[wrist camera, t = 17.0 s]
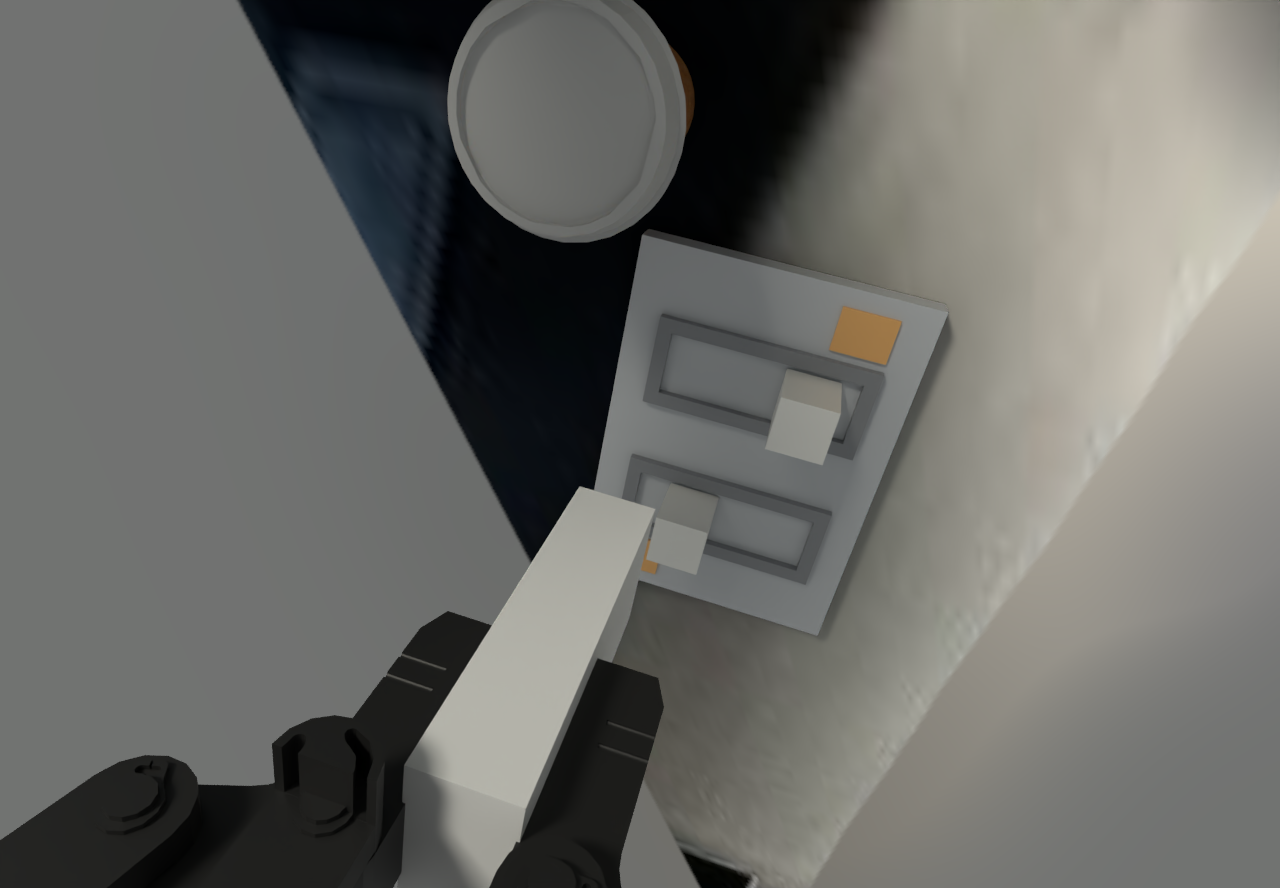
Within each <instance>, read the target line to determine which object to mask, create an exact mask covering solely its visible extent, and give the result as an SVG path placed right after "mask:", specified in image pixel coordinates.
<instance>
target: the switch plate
mask: <svg viewBox="0 0 1280 888" xmlns="http://www.w3.org/2000/svg"><path fill="white" fill-rule="evenodd" d="M948 313H949V312H948V309H947V307H946V304H944V303H940V302H936V301H932V300H928V299H924V298H920V297H916V296H912V295H908V294H904V293H900V292H896V291H892V290H888V289H884V288H880V287H876V286H873V285H869V284H865V283H861V282H857V281H853V280H849V279H845V278H841V277H837V276H833V275H829V274H825V273H821V272H817V271H813V270H809V269H805V268H801V267H798V266H794V265H790V264H786V263H782V262H778V261H774V260H770V259H766V258H762V257H758V256H754V255H750V254H746V253H742V252H738V251H734V250H730V249H726V248H723V247H719V246H715V245H711V244H707V243H703V242H699V241H695V240H691V239H687V238H683V237H679V236H675V235H671V234H667V233H663V232H659V231H655V230H651V229H648V230H647V231H646V232H645V233H644V234H642V239H641V244H640V249H639V255H638V260H637V265H636V271H635V276H634V281H633V287H632V292H631V297H630V303H629V308H628V313H627V318H626V324H625V329H624V334H623V340H622V345H621V350H620V356H619V361H618V366H617V372H616V377H615V382H614V387H613V393H612V398H611V403H610V409H609V414H608V419H607V425H606V430H605V435H604V441H603V446H602V451H601V456H600V462H599V467H598V472H597V478H596V483H595V488H594V491H597V492H600V493H604V494H607V495H610V496H614V497H617V498H620V499H624V500H627V501H630V502H634V503H637V504H640V505H644V506H647V507H650V508H654V509H655V513H654V517H653V521H652V525H651V530H650V534H649V538H648V542H647V546H646V550H645V555H644V559H643V563H642V567H641V571H640V576H639V580H640V581H644V582H647V583H650V584H653V585H656V586H659V587H663V588H666V589H669V590H672V591H675V592H679V593H682V594H685V595H688V596H691V597H695V598H698V599H701V600H704V601H707V602H711V603H714V604H717V605H720V606H723V607H727V608H730V609H733V610H736V611H739V612H743V613H746V614H749V615H752V616H755V617H759V618H762V619H765V620H768V621H771V622H775V623H778V624H781V625H784V626H787V627H791V628H794V629H797V630H800V631H803V632H807V633H810V634H813V635H816V636H818V633H819V631H820V629H821V626H822V624H823V621H824V619H825V616H826V614H827V611H828V609H829V606H830V604H831V601H832V599H833V596H834V594H835V592H836V589H837V587H838V584H839V582H840V579H841V577H842V574H843V572H844V569H845V567H846V564H847V562H848V559H849V557H850V555H851V552H852V550H853V547H854V545H855V542H856V540H857V537H858V535H859V532H860V530H861V527H862V525H863V522H864V520H865V518H866V515H867V513H868V510H869V508H870V505H871V503H872V500H873V498H874V495H875V493H876V490H877V488H878V485H879V483H880V481H881V478H882V476H883V473H884V471H885V468H886V466H887V463H888V461H889V458H890V456H891V453H892V451H893V448H894V446H895V444H896V441H897V439H898V436H899V434H900V431H901V429H902V426H903V424H904V421H905V419H906V416H907V414H908V411H909V409H910V407H911V404H912V402H913V399H914V397H915V394H916V392H917V389H918V387H919V384H920V382H921V379H922V377H923V374H924V372H925V370H926V367H927V365H928V362H929V360H930V357H931V355H932V352H933V350H934V347H935V345H936V342H937V340H938V337H939V335H940V333H941V330H942V328H943V325H944V323H945V320H946V318H947V315H948ZM787 369H791V370H795V371H799V372H802V373H806V374H810V375H813V376H817V377H821V378H824V379H828V380H832V381H836V382H839V383H842V396H841V415H840V418H839V420H838V423H837V426H836V429H835V432H834V434H833V437H832V440H831V443H830V446H829V448H828V451H827V454H826V457H825V460H824V462H823V465H819V464H816V463H812V462H809V461H805V460H802V459H798V458H795V457H791V456H788V455H784V454H781V453H777V452H774V451H770V450H767V449H765V447H766V442H767V438H768V433H769V429H770V424H771V420H772V416H773V412H774V409H775V406H776V403H777V399H778V396H779V393H780V390H781V386H782V383H783V380H784V377H785V373H786V370H787ZM671 483H673V484H677V485H680V486H683V487H687V488H690V489H694V490H697V491H700V492H704V493H707V494H711V495H714V496H717V497H719V499H718V502H717V506H716V509H715V513H714V516H713V520H712V523H711V527H710V530H709V534H708V537H707V540H706V544H705V547H704V550H703V554H702V557H701V560H700V564H699V567H698V570H697V574H696V575H694V574H691V573H688V572H685V571H681V570H678V569H675V568H672V567H669V566H665V565H662V564H659V563H656V562H652V561H649V560H646V558H647V554H648V549H649V545H650V541H651V537H652V533H653V529H654V525H655V520H656V517H657V514H658V512H659V510H660V507H661V505H662V503H663V500H664V498H665V496H666V493H667V491H668V489H669V486H670V484H671Z"/></svg>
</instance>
